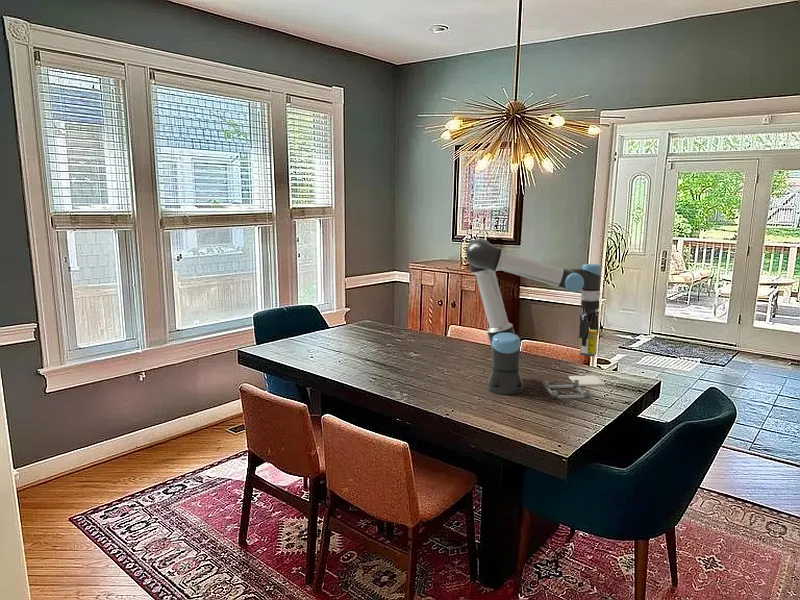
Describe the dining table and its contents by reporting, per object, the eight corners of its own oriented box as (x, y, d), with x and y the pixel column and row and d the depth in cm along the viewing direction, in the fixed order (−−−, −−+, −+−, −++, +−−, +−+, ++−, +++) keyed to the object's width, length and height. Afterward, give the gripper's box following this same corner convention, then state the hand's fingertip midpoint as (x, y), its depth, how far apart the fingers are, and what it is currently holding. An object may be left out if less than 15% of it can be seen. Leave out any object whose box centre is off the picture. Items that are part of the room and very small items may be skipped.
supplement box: (579, 355, 240) (580, 331, 238) (582, 352, 245) (583, 328, 243) (594, 356, 237) (595, 332, 235) (596, 353, 242) (597, 329, 241)
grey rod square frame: (552, 399, 222) (552, 392, 221) (542, 387, 237) (542, 380, 236) (590, 398, 222) (590, 391, 221) (577, 386, 237) (577, 379, 237)
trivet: (577, 386, 237) (577, 384, 237) (568, 377, 249) (568, 376, 249) (605, 385, 238) (605, 383, 237) (595, 377, 249) (595, 375, 249)
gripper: (588, 303, 228) (586, 357, 231) (608, 297, 242) (606, 348, 246) (571, 301, 233) (569, 354, 237) (592, 296, 247) (590, 345, 251)
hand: (588, 351), depth 241 cm, fingers closed on supplement box, 7 cm apart
